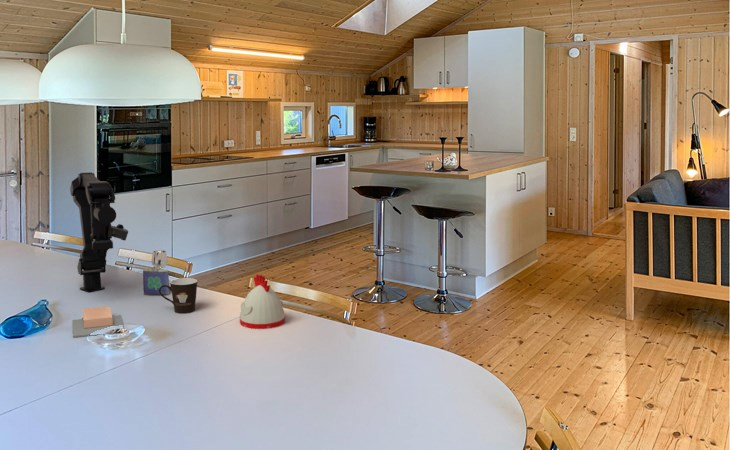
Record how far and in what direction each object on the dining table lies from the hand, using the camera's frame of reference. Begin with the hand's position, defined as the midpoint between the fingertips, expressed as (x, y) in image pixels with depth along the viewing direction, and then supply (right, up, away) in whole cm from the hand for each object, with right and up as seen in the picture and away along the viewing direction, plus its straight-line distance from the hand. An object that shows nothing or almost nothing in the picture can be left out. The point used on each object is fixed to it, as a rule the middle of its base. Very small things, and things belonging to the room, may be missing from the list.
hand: (102, 265), depth 217 cm
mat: (+8, -17, -23) cm, 30 cm away
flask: (+14, -12, +13) cm, 22 cm away
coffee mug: (+28, -15, -5) cm, 32 cm away
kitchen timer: (+56, -17, -15) cm, 61 cm away
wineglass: (+10, -9, +29) cm, 32 cm away
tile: (+4, -14, -14) cm, 20 cm away
